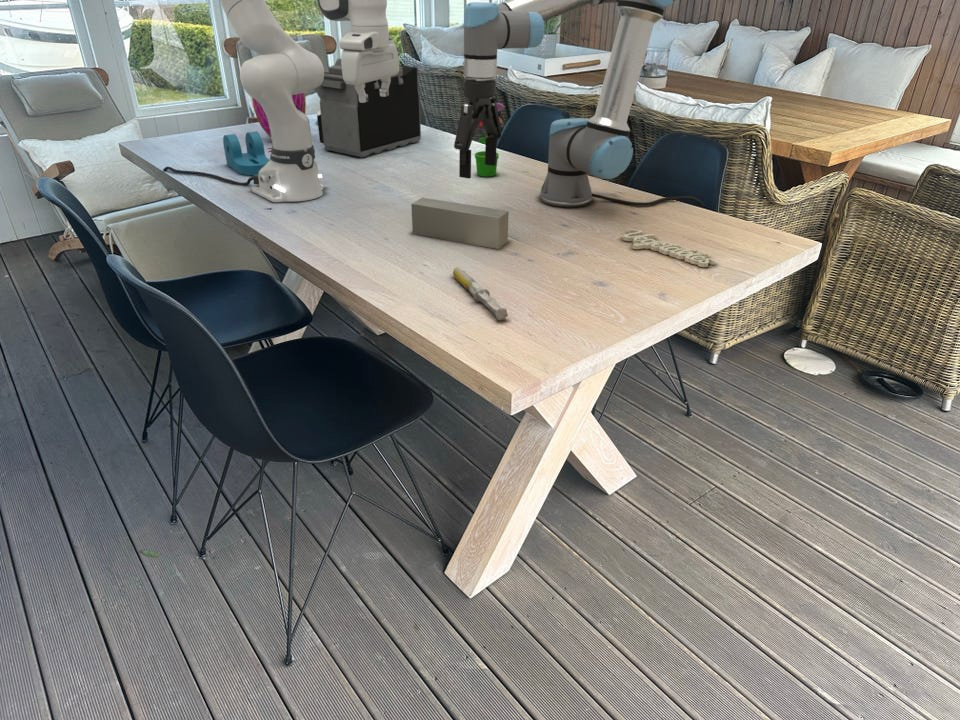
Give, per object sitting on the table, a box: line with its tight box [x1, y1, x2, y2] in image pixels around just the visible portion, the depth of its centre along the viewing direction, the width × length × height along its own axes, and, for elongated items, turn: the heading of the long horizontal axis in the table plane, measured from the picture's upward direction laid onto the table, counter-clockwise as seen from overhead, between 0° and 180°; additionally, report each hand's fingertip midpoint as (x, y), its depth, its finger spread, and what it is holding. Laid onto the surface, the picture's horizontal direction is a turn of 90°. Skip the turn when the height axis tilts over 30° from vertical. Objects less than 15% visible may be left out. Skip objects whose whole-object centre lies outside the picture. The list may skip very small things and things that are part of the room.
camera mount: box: [222, 131, 271, 176], centre depth 226 cm, size 18×10×10 cm, turn 35°
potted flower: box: [474, 102, 506, 178], centre depth 220 cm, size 9×8×25 cm
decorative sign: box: [622, 228, 715, 268], centre depth 169 cm, size 26×1×10 cm
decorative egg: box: [251, 93, 307, 138], centre depth 257 cm, size 19×19×30 cm
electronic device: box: [314, 58, 422, 159], centre depth 250 cm, size 37×22×30 cm, turn 144°
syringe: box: [452, 266, 509, 321], centre depth 145 cm, size 25×4×3 cm, turn 21°
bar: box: [410, 197, 510, 250], centre depth 173 cm, size 24×6×8 cm, turn 65°
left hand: (374, 99), depth 172 cm, fingers open, 8 cm apart
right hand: (478, 171), depth 168 cm, fingers open, 13 cm apart
